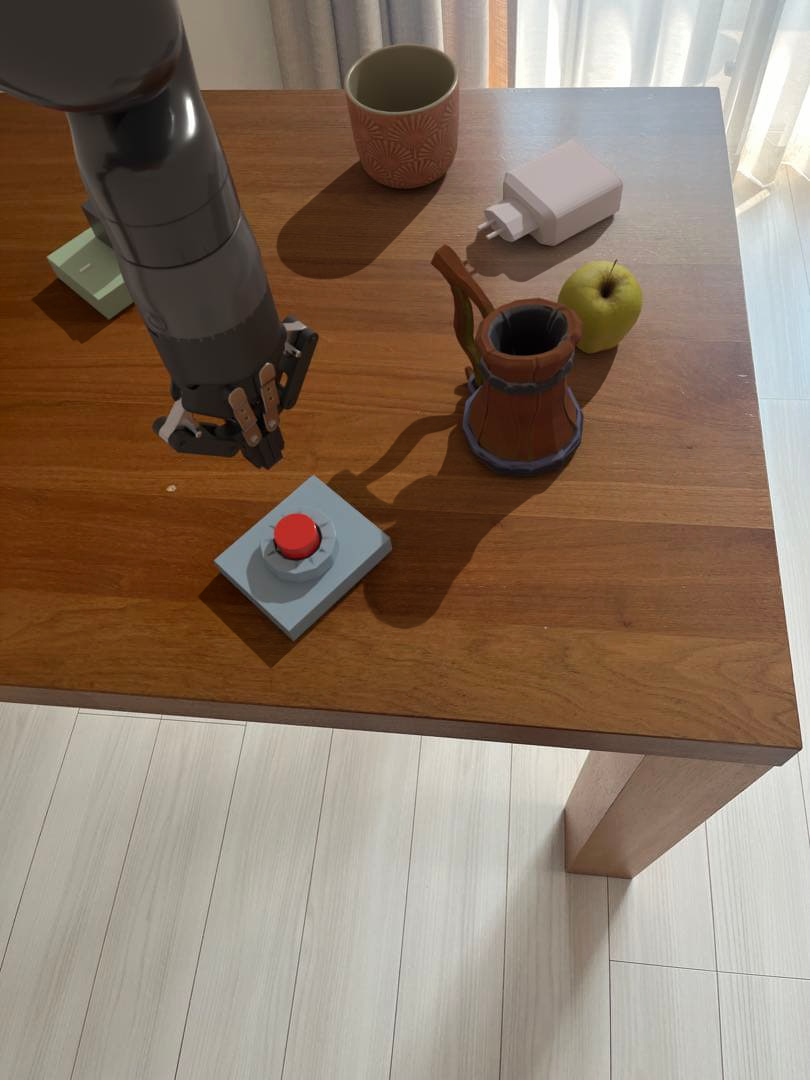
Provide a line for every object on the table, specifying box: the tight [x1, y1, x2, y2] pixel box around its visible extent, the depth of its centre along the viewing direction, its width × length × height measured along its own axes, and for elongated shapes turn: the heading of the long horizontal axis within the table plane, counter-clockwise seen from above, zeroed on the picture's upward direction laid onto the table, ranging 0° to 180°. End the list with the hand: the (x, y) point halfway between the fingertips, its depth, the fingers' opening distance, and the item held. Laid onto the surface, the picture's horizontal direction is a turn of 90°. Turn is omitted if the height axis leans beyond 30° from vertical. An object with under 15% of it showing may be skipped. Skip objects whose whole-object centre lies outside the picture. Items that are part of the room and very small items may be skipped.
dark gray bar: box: [80, 198, 114, 250], centre depth 95 cm, size 6×2×4 cm, turn 46°
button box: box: [213, 474, 393, 642], centre depth 77 cm, size 12×10×4 cm
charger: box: [476, 139, 624, 247], centre depth 96 cm, size 5×9×15 cm
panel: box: [46, 226, 134, 320], centre depth 98 cm, size 13×11×3 cm
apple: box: [556, 258, 644, 354], centre depth 85 cm, size 8×8×10 cm
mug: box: [430, 244, 585, 478], centre depth 79 cm, size 18×12×15 cm, turn 35°
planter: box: [343, 43, 460, 190], centre depth 99 cm, size 12×12×11 cm
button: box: [274, 513, 319, 559], centre depth 75 cm, size 4×4×2 cm
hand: (266, 458), depth 65 cm, fingers closed
